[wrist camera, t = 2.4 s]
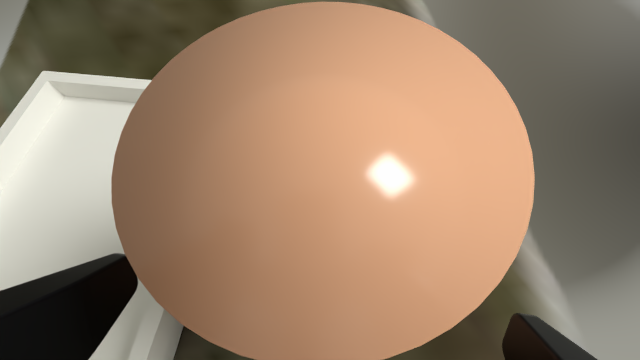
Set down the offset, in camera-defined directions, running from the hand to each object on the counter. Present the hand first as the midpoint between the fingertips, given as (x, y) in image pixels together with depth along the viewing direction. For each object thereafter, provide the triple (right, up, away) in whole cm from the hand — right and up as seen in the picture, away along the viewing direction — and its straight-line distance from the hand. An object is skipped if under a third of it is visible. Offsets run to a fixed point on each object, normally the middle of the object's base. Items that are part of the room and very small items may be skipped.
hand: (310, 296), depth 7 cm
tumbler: (+1, -2, +9) cm, 10 cm away
